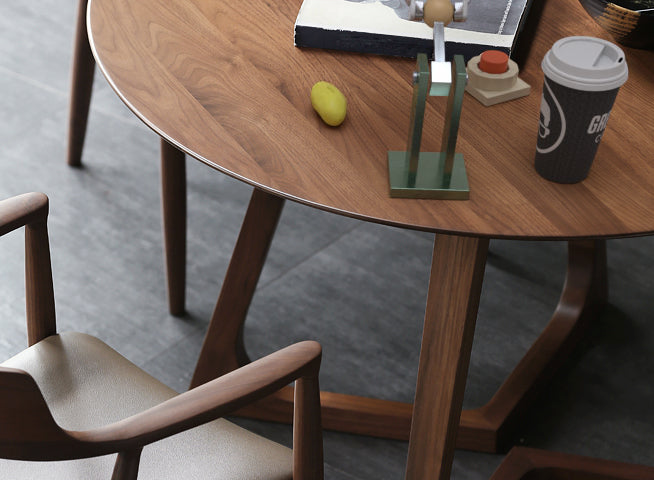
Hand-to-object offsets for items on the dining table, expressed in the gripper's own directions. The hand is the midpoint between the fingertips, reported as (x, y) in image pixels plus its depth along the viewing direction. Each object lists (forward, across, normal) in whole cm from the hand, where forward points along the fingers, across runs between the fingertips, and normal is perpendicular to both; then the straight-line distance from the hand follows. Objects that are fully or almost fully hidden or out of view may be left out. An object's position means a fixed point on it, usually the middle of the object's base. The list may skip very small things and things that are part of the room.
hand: (438, 20), depth 121 cm
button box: (+1, +10, +22) cm, 24 cm away
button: (-1, +10, +20) cm, 23 cm away
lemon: (+7, -12, +16) cm, 21 cm away
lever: (+4, 0, 0) cm, 4 cm away
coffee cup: (+15, +16, +9) cm, 24 cm away
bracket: (+17, 0, +6) cm, 18 cm away
